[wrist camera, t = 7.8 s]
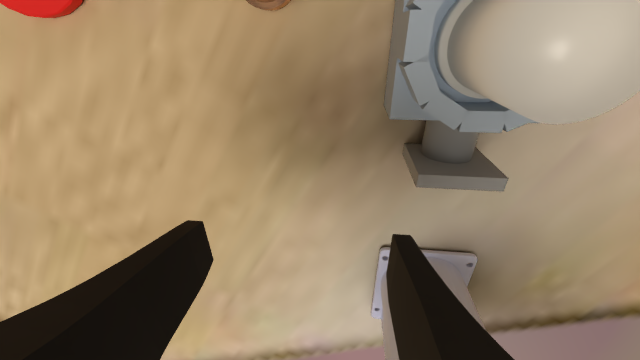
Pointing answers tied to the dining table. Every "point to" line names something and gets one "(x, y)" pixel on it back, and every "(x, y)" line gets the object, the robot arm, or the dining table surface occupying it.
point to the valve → (439, 106)
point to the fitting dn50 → (543, 55)
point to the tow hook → (42, 7)
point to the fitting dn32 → (269, 4)
